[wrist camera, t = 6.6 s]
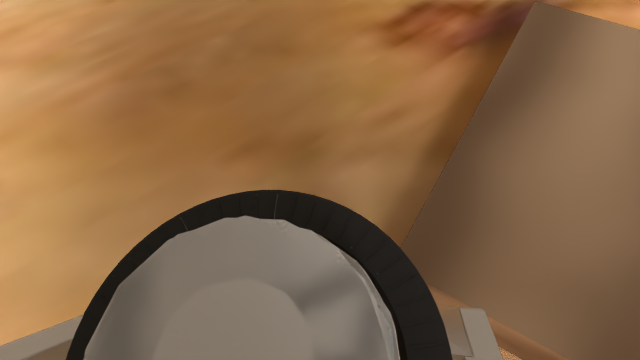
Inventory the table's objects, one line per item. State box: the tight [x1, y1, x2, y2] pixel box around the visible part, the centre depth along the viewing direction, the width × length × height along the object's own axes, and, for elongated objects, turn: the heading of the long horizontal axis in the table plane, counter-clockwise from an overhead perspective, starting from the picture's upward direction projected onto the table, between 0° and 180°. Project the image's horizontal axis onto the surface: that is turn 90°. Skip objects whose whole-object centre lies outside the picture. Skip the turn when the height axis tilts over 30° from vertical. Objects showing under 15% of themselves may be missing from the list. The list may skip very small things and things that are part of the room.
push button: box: [66, 190, 452, 360], centre depth 9 cm, size 7×5×10 cm
